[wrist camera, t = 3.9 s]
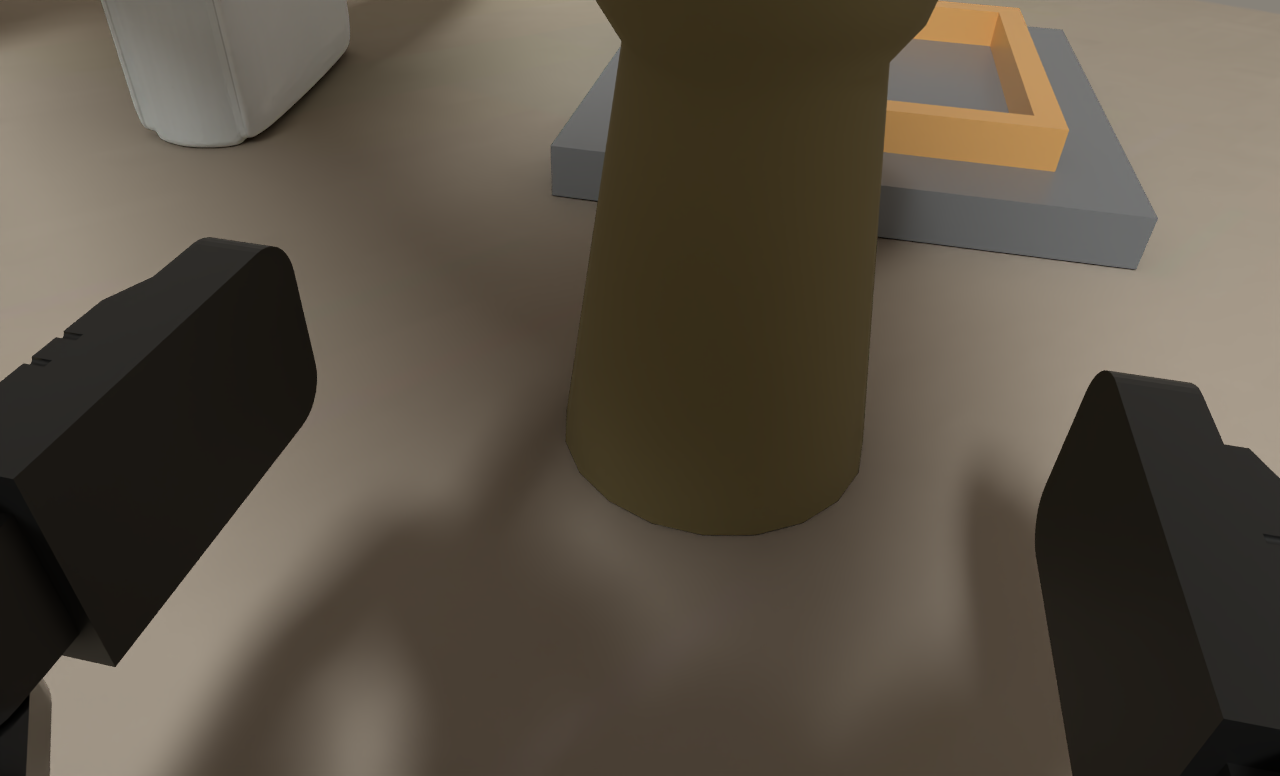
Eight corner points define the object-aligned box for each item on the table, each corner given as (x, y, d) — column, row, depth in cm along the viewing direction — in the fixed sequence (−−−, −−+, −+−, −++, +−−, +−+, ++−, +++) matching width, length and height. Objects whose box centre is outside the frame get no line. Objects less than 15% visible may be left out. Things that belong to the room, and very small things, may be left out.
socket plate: (552, 195, 26) (549, 103, 25) (657, 29, 39) (660, -40, 37) (1136, 269, 24) (1176, 174, 23) (1050, 68, 37) (1072, -3, 35)
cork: (695, 309, 22) (743, -245, 15) (919, 426, 19) (1105, -206, 12) (501, 425, 18) (450, -232, 12) (738, 592, 15) (857, -172, 9)
